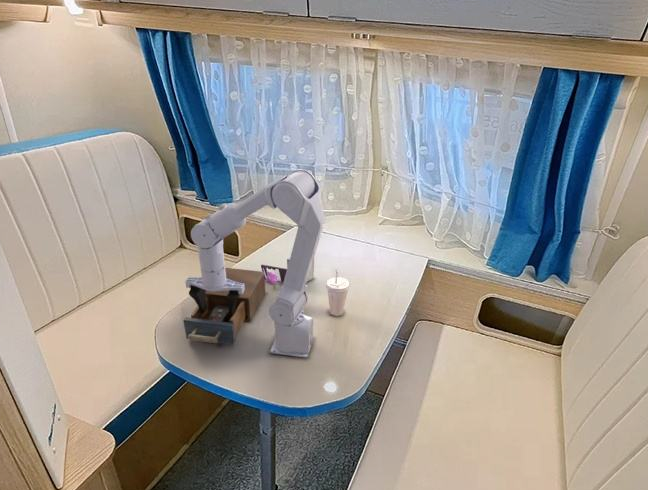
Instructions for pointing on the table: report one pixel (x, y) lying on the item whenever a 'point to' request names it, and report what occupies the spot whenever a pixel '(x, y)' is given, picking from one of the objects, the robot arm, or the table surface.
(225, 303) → the drawer
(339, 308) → the smoothie
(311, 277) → the medicine box
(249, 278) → the cabinet
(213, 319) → the remote
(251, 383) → the table surface
